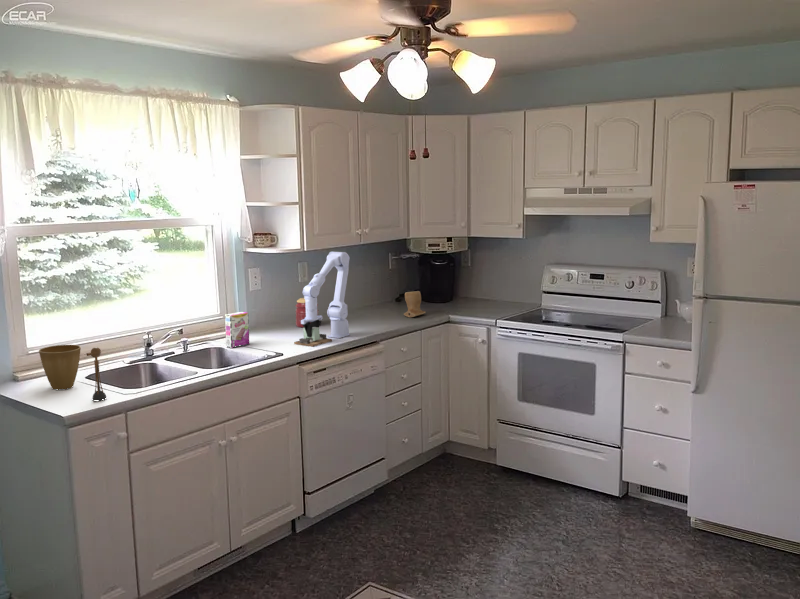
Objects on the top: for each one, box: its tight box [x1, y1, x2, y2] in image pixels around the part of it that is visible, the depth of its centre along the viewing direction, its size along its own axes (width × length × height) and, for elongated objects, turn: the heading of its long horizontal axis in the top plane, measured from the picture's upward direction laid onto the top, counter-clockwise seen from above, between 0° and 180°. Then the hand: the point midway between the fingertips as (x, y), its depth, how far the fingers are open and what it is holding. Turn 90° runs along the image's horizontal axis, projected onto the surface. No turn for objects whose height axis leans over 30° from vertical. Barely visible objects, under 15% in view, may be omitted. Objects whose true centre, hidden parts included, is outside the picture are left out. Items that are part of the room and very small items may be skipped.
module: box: [302, 326, 321, 341], centre depth 357 cm, size 4×7×6 cm, turn 58°
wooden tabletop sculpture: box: [86, 346, 107, 401], centre depth 264 cm, size 6×5×20 cm
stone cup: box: [403, 290, 426, 318], centre depth 426 cm, size 15×12×15 cm
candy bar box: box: [224, 311, 250, 349], centre depth 352 cm, size 11×5×16 cm, turn 141°
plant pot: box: [38, 344, 82, 391], centre depth 282 cm, size 15×15×16 cm
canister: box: [294, 297, 319, 328], centre depth 401 cm, size 13×13×18 cm
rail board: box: [293, 333, 333, 347], centre depth 358 cm, size 15×12×3 cm
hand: (312, 336), depth 357 cm, fingers closed on module, 4 cm apart
